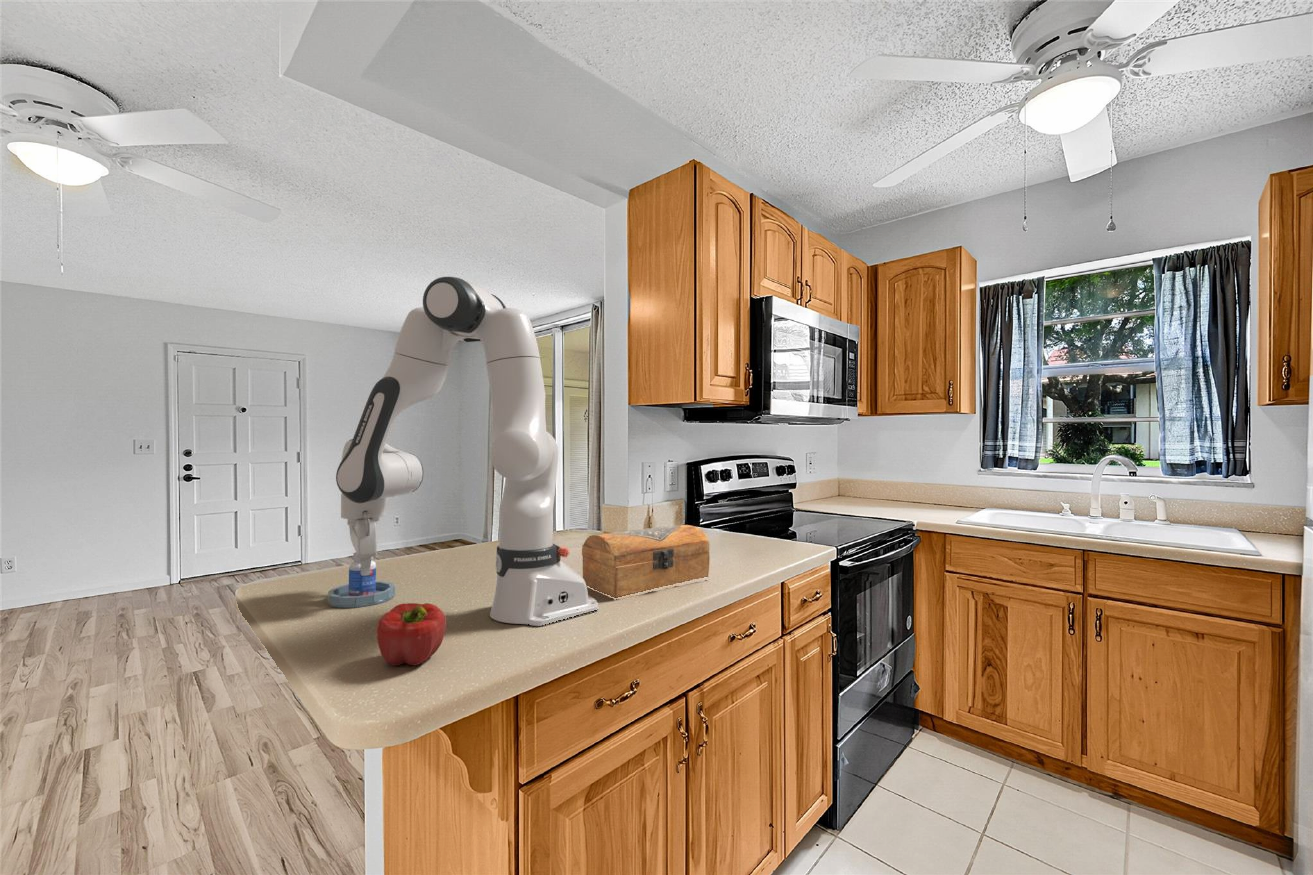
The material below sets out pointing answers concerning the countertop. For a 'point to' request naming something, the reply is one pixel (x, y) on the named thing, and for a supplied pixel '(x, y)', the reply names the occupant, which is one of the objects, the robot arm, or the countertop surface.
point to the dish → (342, 600)
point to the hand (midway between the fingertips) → (363, 570)
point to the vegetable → (410, 633)
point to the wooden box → (644, 559)
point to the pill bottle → (361, 579)
